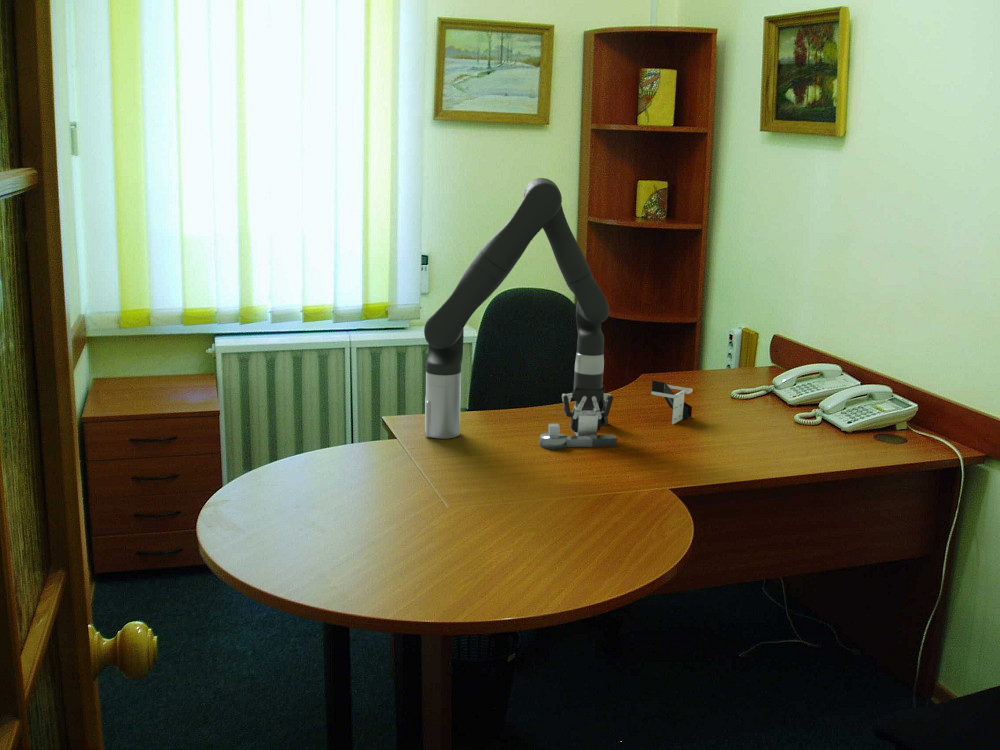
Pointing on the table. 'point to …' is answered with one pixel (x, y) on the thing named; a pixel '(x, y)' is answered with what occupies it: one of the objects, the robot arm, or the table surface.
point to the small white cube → (587, 423)
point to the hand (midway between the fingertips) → (585, 431)
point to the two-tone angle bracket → (674, 399)
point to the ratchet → (573, 439)
